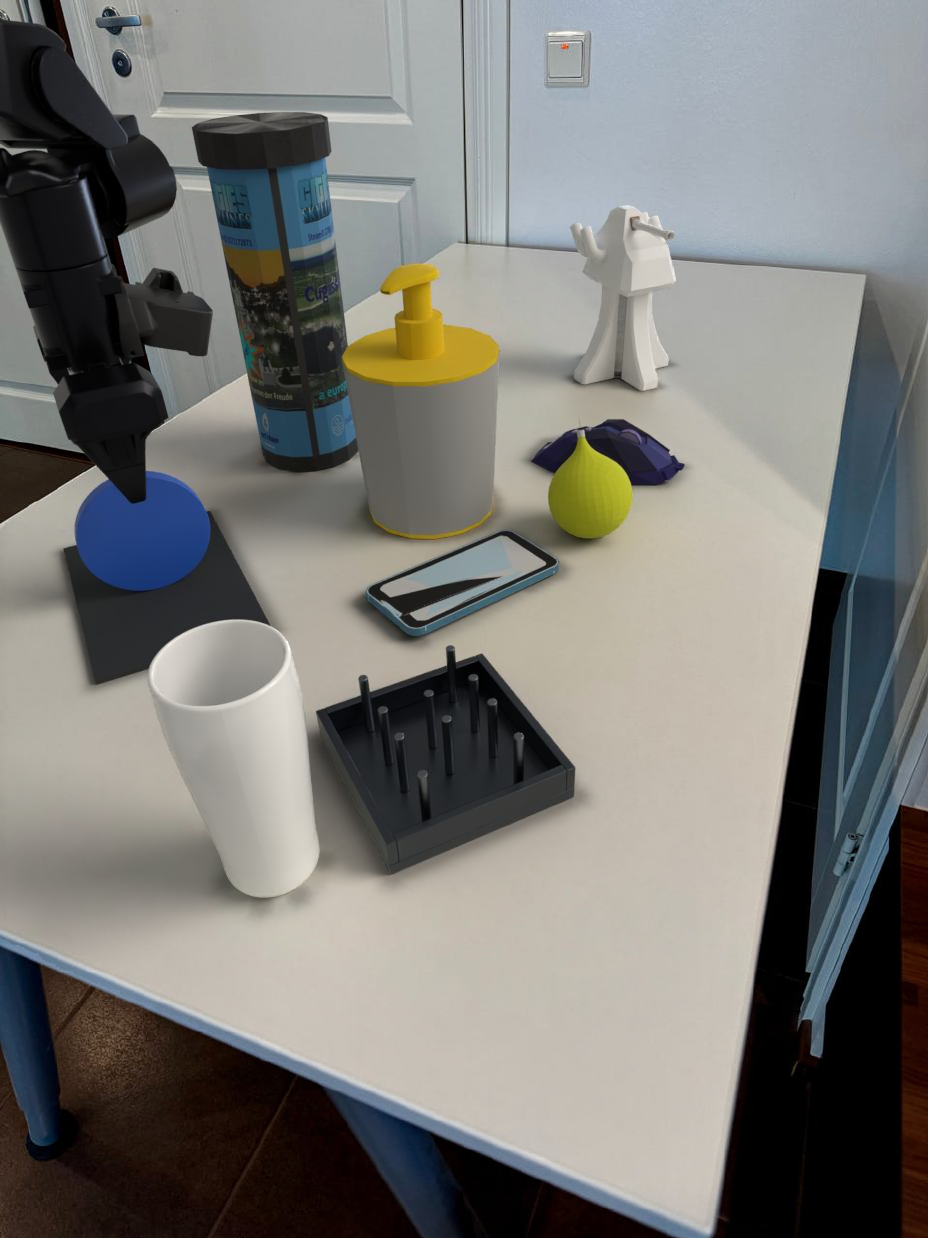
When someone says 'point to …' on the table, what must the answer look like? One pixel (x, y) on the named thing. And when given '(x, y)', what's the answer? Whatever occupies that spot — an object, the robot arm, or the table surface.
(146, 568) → the plate
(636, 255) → the toy gun turret
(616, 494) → the green fig
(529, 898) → the table surface
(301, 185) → the advertising column
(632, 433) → the computer mouse
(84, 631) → the mat
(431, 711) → the rack
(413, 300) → the soap bottle
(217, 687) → the drinking glass
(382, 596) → the smartphone
